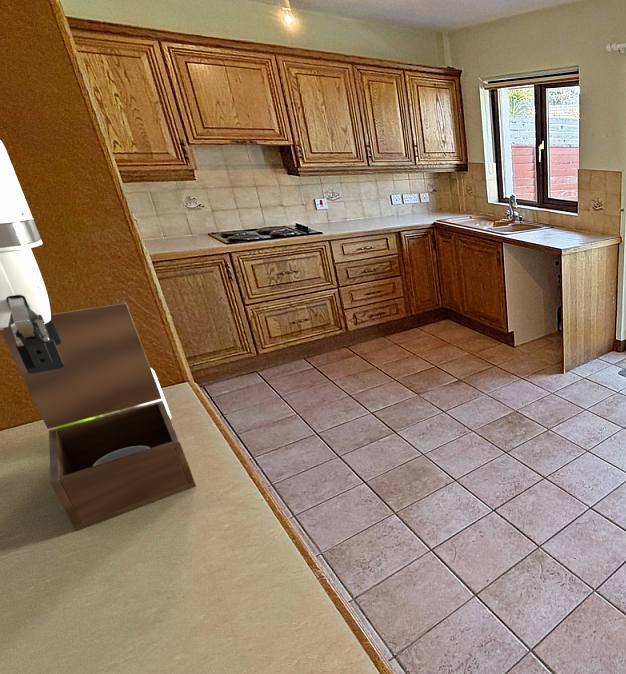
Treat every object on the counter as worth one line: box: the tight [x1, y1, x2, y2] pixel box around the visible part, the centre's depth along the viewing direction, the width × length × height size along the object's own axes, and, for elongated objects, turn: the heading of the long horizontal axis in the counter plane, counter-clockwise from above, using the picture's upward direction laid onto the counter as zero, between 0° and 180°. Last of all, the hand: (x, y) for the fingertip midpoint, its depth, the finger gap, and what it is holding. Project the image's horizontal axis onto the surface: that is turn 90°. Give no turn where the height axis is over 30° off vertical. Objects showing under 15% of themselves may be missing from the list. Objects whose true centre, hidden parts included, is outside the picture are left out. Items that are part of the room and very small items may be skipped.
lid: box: [0, 302, 162, 430], centre depth 77 cm, size 18×14×5 cm
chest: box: [48, 401, 197, 532], centre depth 75 cm, size 17×14×9 cm
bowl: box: [93, 445, 150, 466], centre depth 75 cm, size 7×7×4 cm
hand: (46, 357), depth 66 cm, fingers open, 9 cm apart
